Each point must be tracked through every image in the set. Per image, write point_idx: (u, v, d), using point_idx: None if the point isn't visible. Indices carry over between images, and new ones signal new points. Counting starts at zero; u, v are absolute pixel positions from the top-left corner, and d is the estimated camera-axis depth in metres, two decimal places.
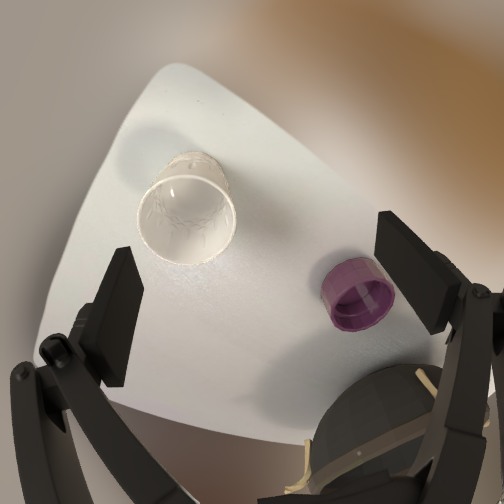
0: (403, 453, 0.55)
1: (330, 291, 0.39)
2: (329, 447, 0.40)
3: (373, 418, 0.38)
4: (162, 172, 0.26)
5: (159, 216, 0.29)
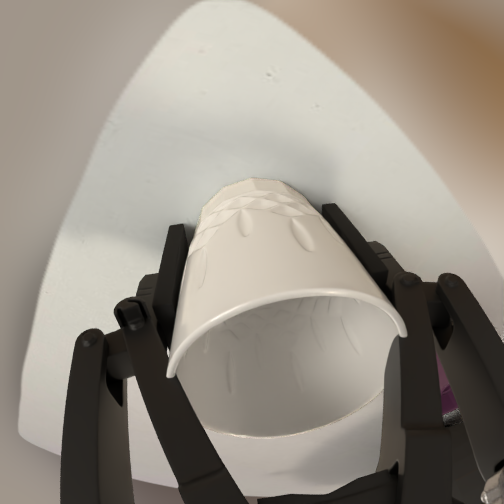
0: None
1: None
2: None
3: None
4: (218, 246, 0.10)
5: None
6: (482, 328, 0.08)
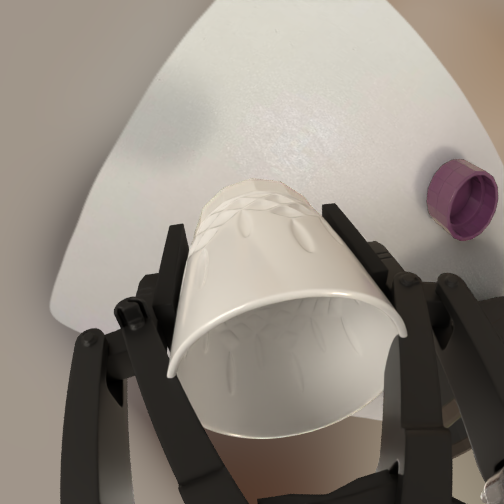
0: None
1: (443, 187, 0.31)
2: None
3: None
4: (218, 247, 0.10)
5: None
6: (482, 328, 0.08)
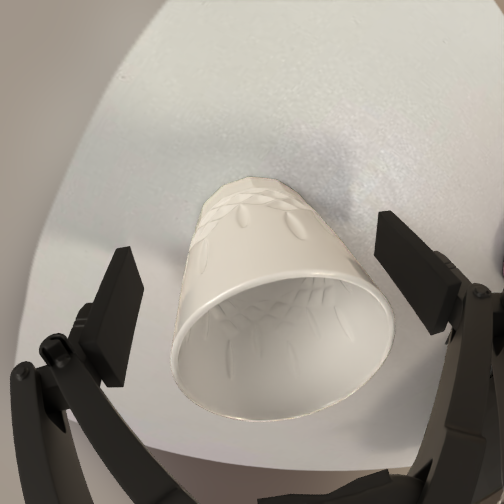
0: None
1: None
2: (488, 474, 0.20)
3: None
4: (218, 237, 0.11)
5: (203, 313, 0.15)
6: None
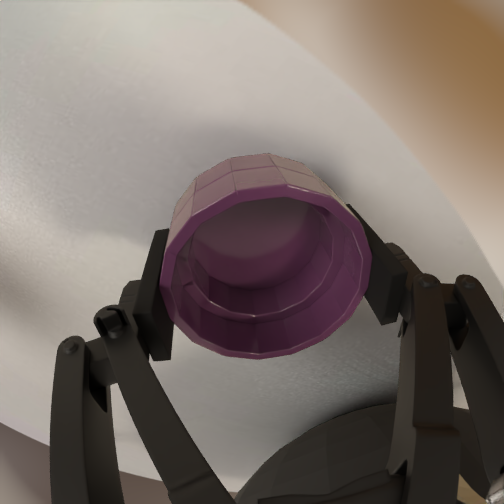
0: None
1: None
2: None
3: None
4: None
5: None
6: (496, 329, 0.08)
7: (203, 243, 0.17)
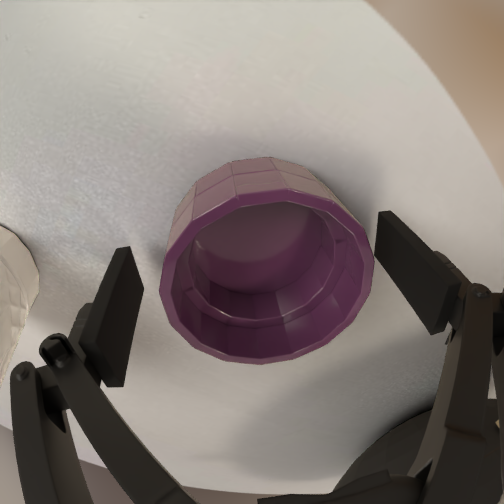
0: None
1: None
2: None
3: None
4: None
5: None
6: None
7: (204, 247, 0.17)
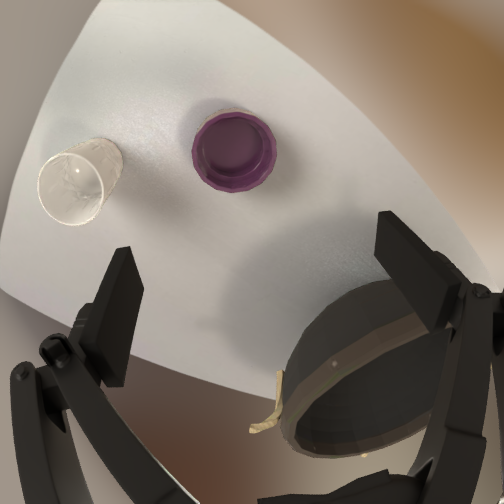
0: (399, 406, 0.52)
1: None
2: (300, 366, 0.37)
3: (351, 322, 0.35)
4: None
5: (65, 191, 0.32)
6: None
7: (208, 147, 0.36)
